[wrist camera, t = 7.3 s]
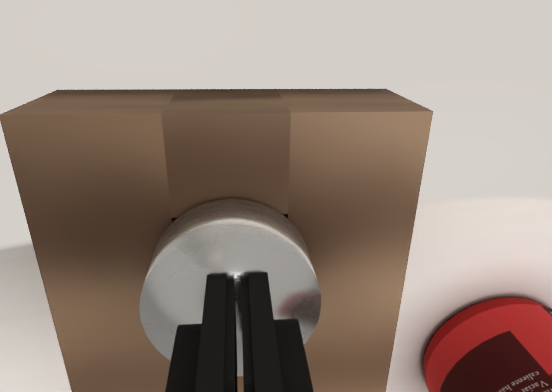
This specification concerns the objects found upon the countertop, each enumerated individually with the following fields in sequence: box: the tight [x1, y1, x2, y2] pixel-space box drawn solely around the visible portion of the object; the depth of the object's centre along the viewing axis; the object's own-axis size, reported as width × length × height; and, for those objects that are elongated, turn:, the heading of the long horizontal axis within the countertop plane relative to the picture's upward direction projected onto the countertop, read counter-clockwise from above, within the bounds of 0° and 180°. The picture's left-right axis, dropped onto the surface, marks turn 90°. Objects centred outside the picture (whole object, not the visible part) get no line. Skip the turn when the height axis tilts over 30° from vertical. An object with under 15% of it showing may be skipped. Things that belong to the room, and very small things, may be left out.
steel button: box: [139, 199, 321, 377], centre depth 14 cm, size 5×5×6 cm
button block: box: [0, 89, 433, 392], centre depth 17 cm, size 20×12×4 cm, turn 0°
